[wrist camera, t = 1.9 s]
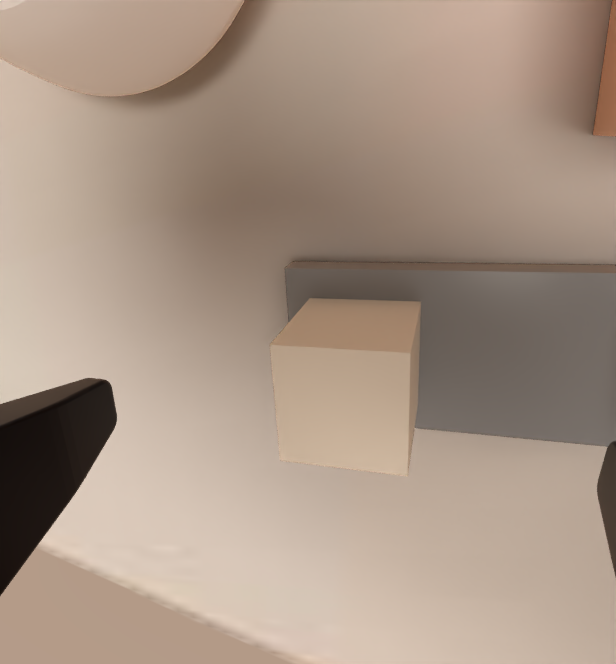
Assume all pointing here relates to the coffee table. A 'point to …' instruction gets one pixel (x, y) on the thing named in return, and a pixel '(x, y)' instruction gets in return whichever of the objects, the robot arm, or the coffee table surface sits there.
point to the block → (348, 384)
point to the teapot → (111, 40)
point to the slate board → (496, 341)
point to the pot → (608, 84)
